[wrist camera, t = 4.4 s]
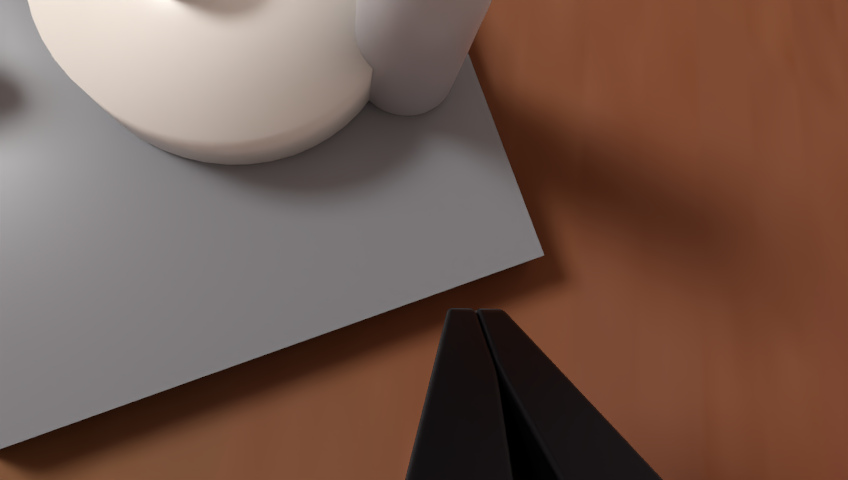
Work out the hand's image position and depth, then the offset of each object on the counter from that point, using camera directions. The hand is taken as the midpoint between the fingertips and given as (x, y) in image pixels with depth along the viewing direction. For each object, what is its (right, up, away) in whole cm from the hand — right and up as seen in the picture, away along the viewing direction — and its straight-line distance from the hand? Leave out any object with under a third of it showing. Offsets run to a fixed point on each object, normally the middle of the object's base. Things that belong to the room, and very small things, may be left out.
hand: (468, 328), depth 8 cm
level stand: (-8, +6, +9) cm, 13 cm away
